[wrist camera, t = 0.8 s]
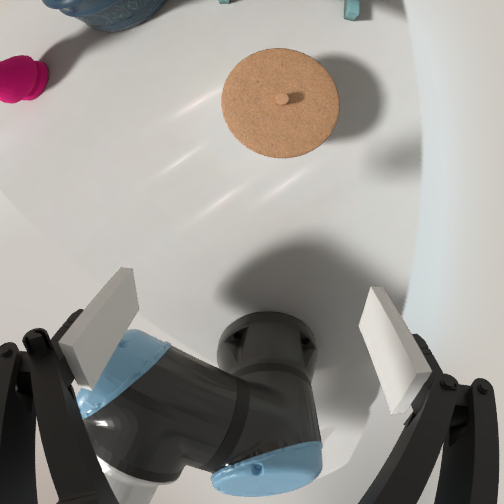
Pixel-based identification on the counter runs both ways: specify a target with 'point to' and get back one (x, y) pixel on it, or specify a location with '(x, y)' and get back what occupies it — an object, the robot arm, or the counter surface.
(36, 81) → the pepper mill
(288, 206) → the counter surface
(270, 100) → the lidded jar
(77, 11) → the canister
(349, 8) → the overhang shelf
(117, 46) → the counter surface
